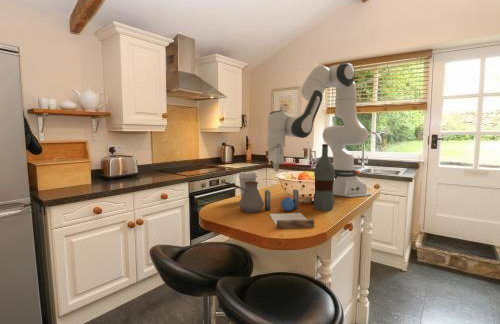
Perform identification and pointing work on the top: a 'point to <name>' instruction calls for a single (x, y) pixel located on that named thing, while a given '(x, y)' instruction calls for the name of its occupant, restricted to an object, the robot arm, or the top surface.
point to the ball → (287, 204)
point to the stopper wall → (295, 223)
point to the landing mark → (286, 217)
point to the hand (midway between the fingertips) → (276, 171)
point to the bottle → (324, 182)
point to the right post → (295, 199)
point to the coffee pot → (249, 197)
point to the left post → (267, 200)
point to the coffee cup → (246, 179)
